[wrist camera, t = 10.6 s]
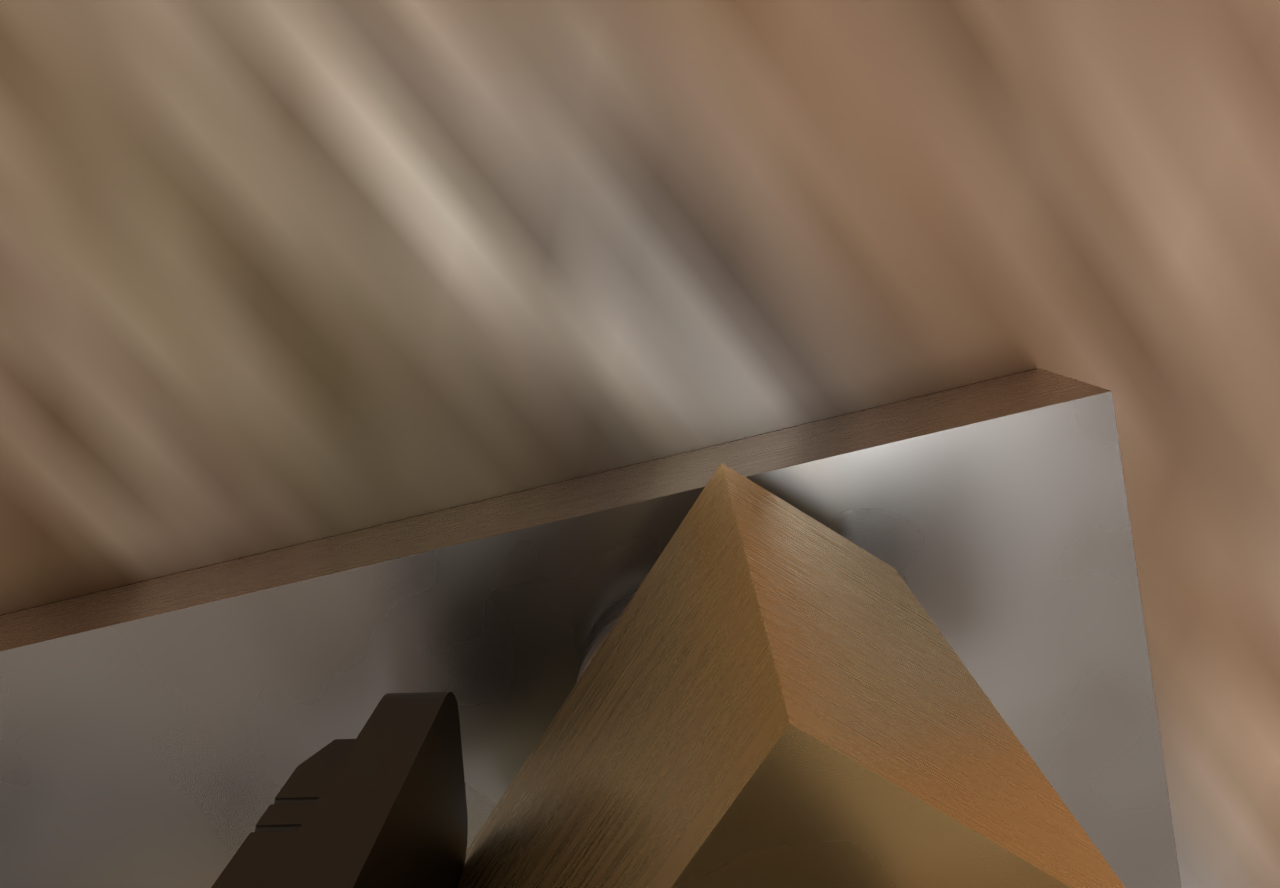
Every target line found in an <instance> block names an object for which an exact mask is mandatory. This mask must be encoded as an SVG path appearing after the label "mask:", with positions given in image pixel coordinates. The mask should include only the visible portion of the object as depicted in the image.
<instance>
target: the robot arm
mask: <svg viewBox="0 0 1280 888" xmlns="http://www.w3.org/2000/svg"><path fill="white" fill-rule="evenodd" d="M467 838H468V816H467V803H466V791H465V779H464V767H463V755H462V743H461V731H460V719H459V710H458V704H457V700H456V697H455V695H454V694H453V692H418V693H387V694H385V695H384V696H383V697H382V699H381V700H380V702H379V703H378V705H377V706H376V708H375V710H374V711H373V713H372V714H371V716H370V718H369V719H368V721H367V722H366V724H365V725H364V727H363V729H362V730H361V732H360V733H359V735H358V737H357V738H356V739H335V740H333V741H332V742H331V743H329V744H328V745H326V746H325V747H324V748H322V749H321V750H319V751H318V752H317V753H315V754H314V755H312V756H311V757H310V758H308V759H307V760H305V761H304V762H303V763H301V764H300V765H299V766H297V768H296V769H295V770H294V772H293V773H292V775H291V776H290V777H289V779H288V780H287V782H286V783H285V784H284V786H283V787H282V789H281V790H280V791H279V793H278V794H277V796H276V797H275V803H274V804H270V806H269V807H268V808H267V810H266V811H265V813H264V814H263V815H262V817H261V818H260V820H259V821H258V822H257V824H256V828H255V832H250V834H249V835H248V836H247V838H246V839H245V841H244V842H243V843H242V845H241V846H240V848H239V849H238V850H237V852H236V853H235V855H234V856H233V857H232V859H231V860H230V862H229V863H228V864H227V866H226V867H225V869H224V870H223V871H222V873H221V874H220V876H219V877H218V879H217V880H216V881H215V883H214V884H213V886H212V887H211V888H457V887H458V884H459V881H460V878H461V875H462V871H463V868H464V865H465V859H466V851H467Z"/></svg>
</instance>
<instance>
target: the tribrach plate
mask: <svg viewBox="0 0 1280 888" xmlns="http://www.w3.org/2000/svg"><path fill="white" fill-rule="evenodd" d="M720 463H723V464H725V465H726V466H728V467H729V468H731V469H733V470H734V471H736V472H738V473H739V474H741V475H743V476H744V477H746V478H747V479H749V480H751V481H752V482H754V483H756V484H757V485H759V486H761V487H762V488H764V489H766V490H767V491H769V492H770V493H772V494H774V495H775V496H777V497H779V498H780V499H782V500H784V501H785V502H787V503H789V504H790V505H792V506H793V507H795V508H797V509H798V510H800V511H802V512H803V513H805V514H807V515H808V516H810V517H812V518H813V519H815V520H816V521H818V522H820V523H821V524H823V525H825V526H826V527H828V528H830V529H831V530H833V531H834V532H836V533H838V534H839V535H841V536H843V537H844V538H846V539H848V540H849V541H851V542H853V543H854V544H856V545H857V546H859V547H861V548H862V549H864V550H866V551H867V552H869V553H871V554H872V555H874V556H876V557H877V558H879V559H880V560H882V561H884V562H885V563H887V564H889V565H890V566H892V567H894V568H895V570H896V571H897V572H898V574H899V575H900V576H901V578H902V579H903V581H904V582H905V583H906V585H907V586H908V588H909V589H910V590H911V592H912V593H913V594H914V596H915V597H916V599H917V600H918V601H919V603H920V604H921V606H922V607H923V608H924V610H925V611H926V612H927V614H928V615H929V617H930V618H931V619H932V621H933V622H934V624H935V625H936V626H937V628H938V629H939V630H940V632H941V633H942V635H943V636H944V637H945V639H946V640H947V642H948V643H949V644H950V646H951V647H952V648H953V650H954V651H955V653H956V654H957V655H958V657H959V658H960V660H961V661H962V662H963V664H964V665H965V666H966V668H967V669H968V671H969V672H970V673H971V675H972V676H973V677H974V679H975V680H976V682H977V683H978V684H979V686H980V687H981V689H982V690H983V691H984V693H985V694H986V695H987V697H988V698H989V700H990V701H991V702H992V704H993V705H994V707H995V708H996V709H997V711H998V712H999V713H1000V715H1001V716H1002V718H1003V719H1004V720H1005V722H1006V723H1007V725H1008V726H1009V727H1010V729H1011V730H1012V731H1013V733H1014V734H1015V736H1016V737H1017V738H1018V740H1019V741H1020V743H1021V744H1022V745H1023V747H1024V748H1025V749H1026V751H1027V752H1028V754H1029V755H1030V756H1031V758H1032V759H1033V761H1034V762H1035V763H1036V765H1037V766H1038V767H1039V769H1040V770H1041V772H1042V773H1043V774H1044V776H1045V777H1046V778H1047V780H1048V781H1049V783H1050V784H1051V785H1052V787H1053V788H1054V790H1055V791H1056V792H1057V794H1058V795H1059V796H1060V798H1061V799H1062V801H1063V802H1064V803H1065V805H1066V806H1067V808H1068V809H1069V810H1070V812H1071V813H1072V814H1073V816H1074V817H1075V819H1076V820H1077V821H1078V823H1079V824H1080V826H1081V827H1082V828H1083V830H1084V831H1085V832H1086V834H1087V835H1088V837H1089V838H1090V839H1091V841H1092V842H1093V844H1094V845H1095V846H1096V848H1097V849H1098V850H1099V852H1100V853H1101V855H1102V856H1103V857H1104V859H1105V860H1106V862H1107V863H1108V864H1109V866H1110V867H1111V868H1112V870H1113V871H1114V873H1115V874H1116V875H1117V877H1118V878H1119V880H1120V881H1121V882H1122V884H1123V885H1124V886H1125V888H1181V882H1180V874H1179V867H1178V860H1177V853H1176V846H1175V839H1174V832H1173V825H1172V817H1171V810H1170V803H1169V796H1168V789H1167V782H1166V775H1165V768H1164V760H1163V753H1162V746H1161V739H1160V732H1159V725H1158V718H1157V711H1156V703H1155V696H1154V689H1153V682H1152V675H1151V668H1150V661H1149V654H1148V646H1147V639H1146V632H1145V625H1144V618H1143V611H1142V604H1141V597H1140V589H1139V582H1138V575H1137V568H1136V561H1135V554H1134V547H1133V540H1132V532H1131V525H1130V518H1129V511H1128V504H1127V497H1126V490H1125V483H1124V475H1123V468H1122V461H1121V454H1120V447H1119V440H1118V433H1117V426H1116V419H1115V411H1114V404H1113V397H1112V391H1110V390H1106V389H1103V388H1100V387H1097V386H1094V385H1090V384H1087V383H1084V382H1081V381H1078V380H1075V379H1071V378H1068V377H1065V376H1062V375H1059V374H1055V373H1052V372H1049V371H1046V370H1043V369H1040V368H1039V369H1035V370H1031V371H1027V372H1022V373H1018V374H1014V375H1010V376H1006V377H1001V378H997V379H993V380H989V381H985V382H980V383H976V384H972V385H968V386H963V387H959V388H955V389H951V390H947V391H942V392H938V393H934V394H930V395H926V396H921V397H917V398H913V399H909V400H905V401H900V402H896V403H892V404H888V405H884V406H879V407H875V408H871V409H867V410H863V411H858V412H854V413H850V414H846V415H842V416H837V417H833V418H829V419H825V420H821V421H816V422H812V423H808V424H804V425H799V426H795V427H791V428H787V429H783V430H778V431H774V432H770V433H766V434H762V435H757V436H753V437H749V438H745V439H741V440H736V441H732V442H728V443H724V444H720V445H715V446H711V447H707V448H703V449H699V450H694V451H690V452H686V453H682V454H678V455H673V456H669V457H665V458H661V459H657V460H652V461H648V462H644V463H640V464H635V465H631V466H627V467H623V468H619V469H614V470H610V471H606V472H602V473H598V474H593V475H589V476H585V477H581V478H577V479H572V480H568V481H564V482H560V483H556V484H551V485H547V486H543V487H539V488H535V489H530V490H526V491H522V492H518V493H514V494H509V495H505V496H501V497H497V498H493V499H488V500H484V501H480V502H476V503H471V504H467V505H463V506H459V507H455V508H450V509H446V510H442V511H438V512H434V513H429V514H425V515H421V516H417V517H413V518H408V519H404V520H400V521H396V522H392V523H387V524H383V525H379V526H375V527H371V528H366V529H362V530H358V531H354V532H350V533H345V534H341V535H337V536H333V537H329V538H324V539H320V540H316V541H312V542H308V543H303V544H299V545H295V546H291V547H286V548H282V549H278V550H274V551H270V552H265V553H261V554H257V555H253V556H249V557H244V558H240V559H236V560H232V561H228V562H223V563H219V564H215V565H211V566H207V567H202V568H198V569H194V570H190V571H186V572H181V573H177V574H173V575H169V576H165V577H160V578H156V579H152V580H148V581H144V582H139V583H135V584H131V585H127V586H122V587H118V588H114V589H110V590H106V591H101V592H97V593H93V594H89V595H85V596H80V597H76V598H72V599H68V600H64V601H59V602H55V603H51V604H47V605H43V606H38V607H34V608H30V609H26V610H22V611H17V612H13V613H9V614H5V615H1V616H0V888H211V887H212V886H213V884H214V883H215V881H216V880H217V879H218V877H219V876H220V874H221V873H222V871H223V870H224V869H225V867H226V866H227V864H228V863H229V862H230V860H231V859H232V857H233V856H234V855H235V853H236V852H237V850H238V849H239V848H240V846H241V845H242V843H243V842H244V841H245V839H246V838H247V836H248V835H249V834H250V832H255V828H256V824H257V822H258V821H259V820H260V818H261V817H262V815H263V814H264V813H265V811H266V810H267V808H268V807H269V806H270V804H274V803H275V797H276V796H277V794H278V793H279V791H280V790H281V789H282V787H283V786H284V784H285V783H286V782H287V780H288V779H289V777H290V776H291V775H292V773H293V772H294V770H295V769H296V768H297V766H299V765H300V764H301V763H303V762H304V761H305V760H307V759H308V758H310V757H311V756H312V755H314V754H315V753H317V752H318V751H319V750H321V749H322V748H324V747H325V746H326V745H328V744H329V743H331V742H332V741H333V740H335V739H356V738H357V737H358V735H359V733H360V732H361V730H362V729H363V727H364V725H365V724H366V722H367V721H368V719H369V718H370V716H371V714H372V713H373V711H374V710H375V708H376V706H377V705H378V703H379V702H380V700H381V699H382V697H383V696H384V695H385V694H387V693H418V692H453V694H454V695H455V697H456V700H457V704H458V710H459V719H460V731H461V743H462V755H463V767H464V779H465V791H466V803H467V816H468V838H467V849H468V848H469V846H470V845H471V843H472V841H473V840H474V838H475V837H476V835H477V834H478V832H479V831H480V829H481V828H482V826H483V825H484V823H485V822H486V820H487V819H488V817H489V816H490V814H491V812H492V811H493V809H494V808H495V806H496V805H497V803H498V802H499V800H500V799H501V797H502V796H503V794H504V793H505V791H506V790H507V788H508V787H509V785H510V784H511V782H512V780H513V779H514V777H515V776H516V774H517V773H518V771H519V770H520V768H521V767H522V765H523V764H524V762H525V761H526V759H527V758H528V756H529V755H530V753H531V751H532V750H533V748H534V747H535V745H536V744H537V742H538V741H539V739H540V738H541V736H542V735H543V733H544V732H545V730H546V729H547V727H548V726H549V724H550V723H551V721H552V719H553V718H554V716H555V715H556V713H557V712H558V710H559V709H560V707H561V706H562V704H563V703H564V701H565V700H566V698H567V697H568V695H569V694H570V692H571V691H572V689H573V687H574V686H575V684H576V682H577V677H578V672H579V667H580V662H581V658H582V653H583V649H584V644H585V642H586V639H587V637H588V634H589V632H590V631H591V629H592V627H593V625H594V624H595V622H596V621H597V620H598V618H599V617H600V616H601V615H602V614H603V613H604V612H605V611H606V610H607V609H608V608H609V607H610V606H612V605H613V604H614V603H616V602H617V601H619V600H620V599H622V598H624V597H626V596H628V595H630V594H632V593H635V592H636V591H637V590H638V588H639V587H640V585H641V584H642V582H643V581H644V579H645V578H646V576H647V575H648V573H649V572H650V570H651V569H652V567H653V565H654V564H655V562H656V561H657V559H658V558H659V556H660V555H661V553H662V552H663V550H664V549H665V547H666V546H667V544H668V543H669V541H670V540H671V538H672V537H673V535H674V533H675V532H676V530H677V529H678V527H679V526H680V524H681V523H682V521H683V520H684V518H685V517H686V515H687V514H688V512H689V511H690V509H691V508H692V506H693V505H694V503H695V501H696V500H697V498H698V497H699V495H700V494H701V492H702V491H703V489H704V488H705V486H706V485H707V483H708V482H709V480H710V479H711V477H712V476H713V474H714V472H715V471H716V469H717V468H718V466H719V465H720Z"/></svg>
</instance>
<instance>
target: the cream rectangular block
mask: <svg viewBox="0 0 1280 888" xmlns="http://www.w3.org/2000/svg"><path fill="white" fill-rule="evenodd" d="M457 888H1125V886H1124V885H1123V884H1122V882H1121V881H1120V880H1119V878H1118V877H1117V875H1116V874H1115V873H1114V871H1113V870H1112V868H1111V867H1110V866H1109V864H1108V863H1107V862H1106V860H1105V859H1104V857H1103V856H1102V855H1101V853H1100V852H1099V850H1098V849H1097V848H1096V846H1095V845H1094V844H1093V842H1092V841H1091V839H1090V838H1089V837H1088V835H1087V834H1086V832H1085V831H1084V830H1083V828H1082V827H1081V826H1080V824H1079V823H1078V821H1077V820H1076V819H1075V817H1074V816H1073V814H1072V813H1071V812H1070V810H1069V809H1068V808H1067V806H1066V805H1065V803H1064V802H1063V801H1062V799H1061V798H1060V796H1059V795H1058V794H1057V792H1056V791H1055V790H1054V788H1053V787H1052V785H1051V784H1050V783H1049V781H1048V780H1047V778H1046V777H1045V776H1044V774H1043V773H1042V772H1041V770H1040V769H1039V767H1038V766H1037V765H1036V763H1035V762H1034V761H1033V759H1032V758H1031V756H1030V755H1029V754H1028V752H1027V751H1026V749H1025V748H1024V747H1023V745H1022V744H1021V743H1020V741H1019V740H1018V738H1017V737H1016V736H1015V734H1014V733H1013V731H1012V730H1011V729H1010V727H1009V726H1008V725H1007V723H1006V722H1005V720H1004V719H1003V718H1002V716H1001V715H1000V713H999V712H998V711H997V709H996V708H995V707H994V705H993V704H992V702H991V701H990V700H989V698H988V697H987V695H986V694H985V693H984V691H983V690H982V689H981V687H980V686H979V684H978V683H977V682H976V680H975V679H974V677H973V676H972V675H971V673H970V672H969V671H968V669H967V668H966V666H965V665H964V664H963V662H962V661H961V660H960V658H959V657H958V655H957V654H956V653H955V651H954V650H953V648H952V647H951V646H950V644H949V643H948V642H947V640H946V639H945V637H944V636H943V635H942V633H941V632H940V630H939V629H938V628H937V626H936V625H935V624H934V622H933V621H932V619H931V618H930V617H929V615H928V614H927V612H926V611H925V610H924V608H923V607H922V606H921V604H920V603H919V601H918V600H917V599H916V597H915V596H914V594H913V593H912V592H911V590H910V589H909V588H908V586H907V585H906V583H905V582H904V581H903V579H902V578H901V576H900V575H899V574H898V572H897V571H896V570H895V568H894V567H892V566H890V565H889V564H887V563H885V562H884V561H882V560H880V559H879V558H877V557H876V556H874V555H872V554H871V553H869V552H867V551H866V550H864V549H862V548H861V547H859V546H857V545H856V544H854V543H853V542H851V541H849V540H848V539H846V538H844V537H843V536H841V535H839V534H838V533H836V532H834V531H833V530H831V529H830V528H828V527H826V526H825V525H823V524H821V523H820V522H818V521H816V520H815V519H813V518H812V517H810V516H808V515H807V514H805V513H803V512H802V511H800V510H798V509H797V508H795V507H793V506H792V505H790V504H789V503H787V502H785V501H784V500H782V499H780V498H779V497H777V496H775V495H774V494H772V493H770V492H769V491H767V490H766V489H764V488H762V487H761V486H759V485H757V484H756V483H754V482H752V481H751V480H749V479H747V478H746V477H744V476H743V475H741V474H739V473H738V472H736V471H734V470H733V469H731V468H729V467H728V466H726V465H725V464H723V463H720V465H719V466H718V468H717V469H716V471H715V472H714V474H713V476H712V477H711V479H710V480H709V482H708V483H707V485H706V486H705V488H704V489H703V491H702V492H701V494H700V495H699V497H698V498H697V500H696V501H695V503H694V505H693V506H692V508H691V509H690V511H689V512H688V514H687V515H686V517H685V518H684V520H683V521H682V523H681V524H680V526H679V527H678V529H677V530H676V532H675V533H674V535H673V537H672V538H671V540H670V541H669V543H668V544H667V546H666V547H665V549H664V550H663V552H662V553H661V555H660V556H659V558H658V559H657V561H656V562H655V564H654V565H653V567H652V569H651V570H650V572H649V573H648V575H647V576H646V578H645V579H644V581H643V582H642V584H641V585H640V587H639V588H638V590H637V591H636V592H635V593H632V594H630V595H628V596H626V597H624V598H622V599H620V600H619V601H617V602H616V603H614V604H613V605H612V606H610V607H609V608H608V609H607V610H606V611H605V612H604V613H603V614H602V615H601V616H600V617H599V618H598V620H597V621H596V622H595V624H594V625H593V627H592V629H591V631H590V632H589V634H588V637H587V639H586V642H585V644H584V649H583V653H582V658H581V662H580V667H579V672H578V677H577V682H576V684H575V686H574V687H573V689H572V691H571V692H570V694H569V695H568V697H567V698H566V700H565V701H564V703H563V704H562V706H561V707H560V709H559V710H558V712H557V713H556V715H555V716H554V718H553V719H552V721H551V723H550V724H549V726H548V727H547V729H546V730H545V732H544V733H543V735H542V736H541V738H540V739H539V741H538V742H537V744H536V745H535V747H534V748H533V750H532V751H531V753H530V755H529V756H528V758H527V759H526V761H525V762H524V764H523V765H522V767H521V768H520V770H519V771H518V773H517V774H516V776H515V777H514V779H513V780H512V782H511V784H510V785H509V787H508V788H507V790H506V791H505V793H504V794H503V796H502V797H501V799H500V800H499V802H498V803H497V805H496V806H495V808H494V809H493V811H492V812H491V814H490V816H489V817H488V819H487V820H486V822H485V823H484V825H483V826H482V828H481V829H480V831H479V832H478V834H477V835H476V837H475V838H474V840H473V841H472V843H471V845H470V846H469V848H468V849H467V851H466V859H465V865H464V868H463V871H462V875H461V878H460V881H459V884H458V887H457Z"/></svg>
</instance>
